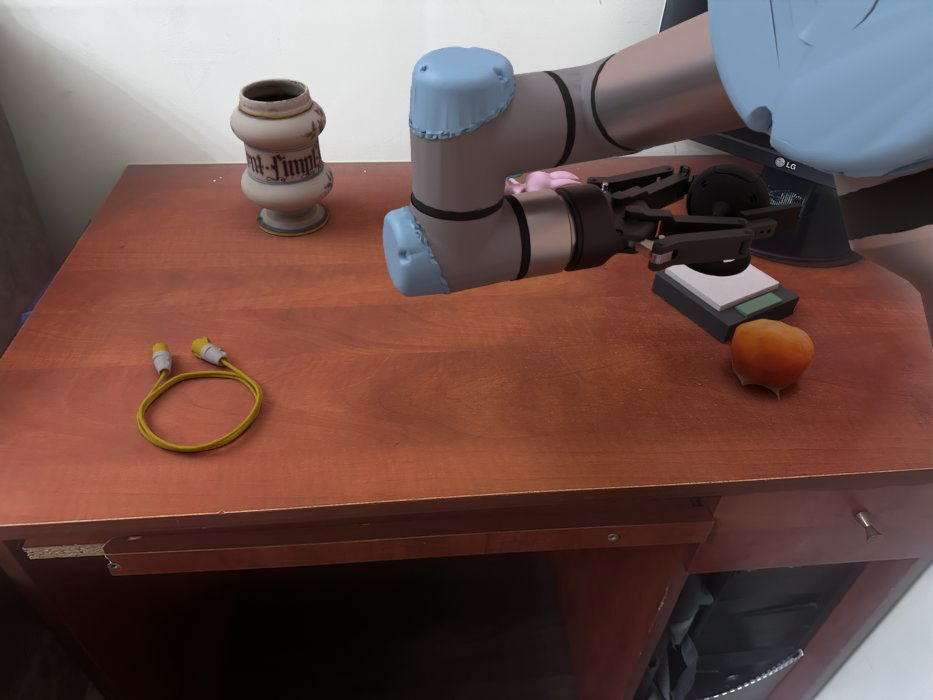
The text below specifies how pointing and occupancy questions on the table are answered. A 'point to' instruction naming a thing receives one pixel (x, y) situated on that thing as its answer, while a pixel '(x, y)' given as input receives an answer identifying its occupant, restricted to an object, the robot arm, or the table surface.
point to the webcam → (725, 205)
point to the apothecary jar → (283, 155)
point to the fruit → (770, 353)
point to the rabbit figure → (539, 182)
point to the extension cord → (203, 351)
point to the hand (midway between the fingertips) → (769, 198)
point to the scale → (724, 298)
